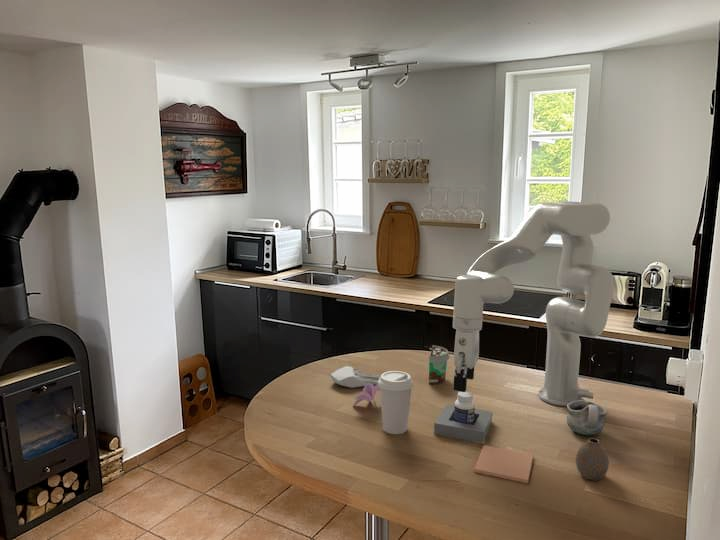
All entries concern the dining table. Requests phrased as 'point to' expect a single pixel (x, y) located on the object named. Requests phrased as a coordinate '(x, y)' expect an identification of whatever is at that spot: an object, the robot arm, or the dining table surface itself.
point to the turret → (353, 377)
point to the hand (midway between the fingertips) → (463, 384)
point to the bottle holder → (463, 425)
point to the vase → (592, 460)
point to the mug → (585, 417)
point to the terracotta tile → (504, 463)
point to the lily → (368, 393)
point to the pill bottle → (464, 408)
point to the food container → (437, 364)
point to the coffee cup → (395, 400)
